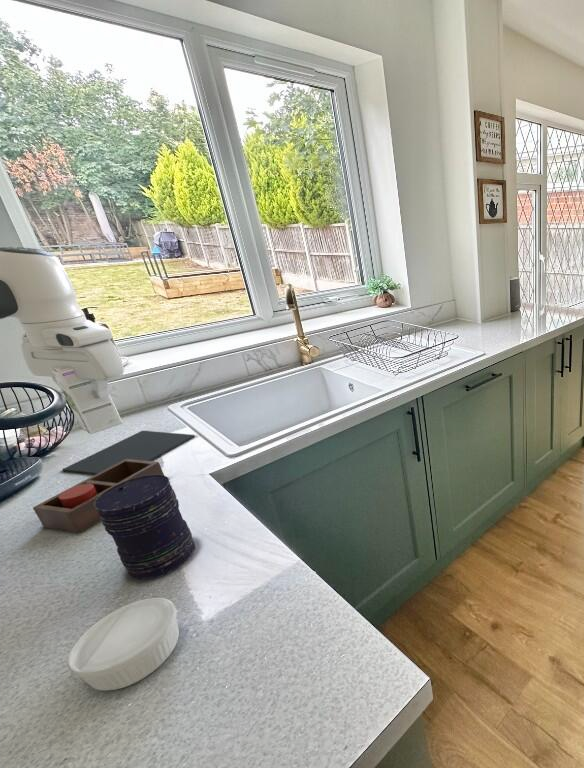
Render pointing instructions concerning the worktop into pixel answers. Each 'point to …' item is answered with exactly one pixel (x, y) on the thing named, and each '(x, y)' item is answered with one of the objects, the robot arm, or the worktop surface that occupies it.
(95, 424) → the syrup box
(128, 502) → the dark blue cylinder
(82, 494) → the spice tin
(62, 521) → the caddy
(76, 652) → the ramekin
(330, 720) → the worktop surface
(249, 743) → the worktop surface
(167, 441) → the mat
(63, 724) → the worktop surface
